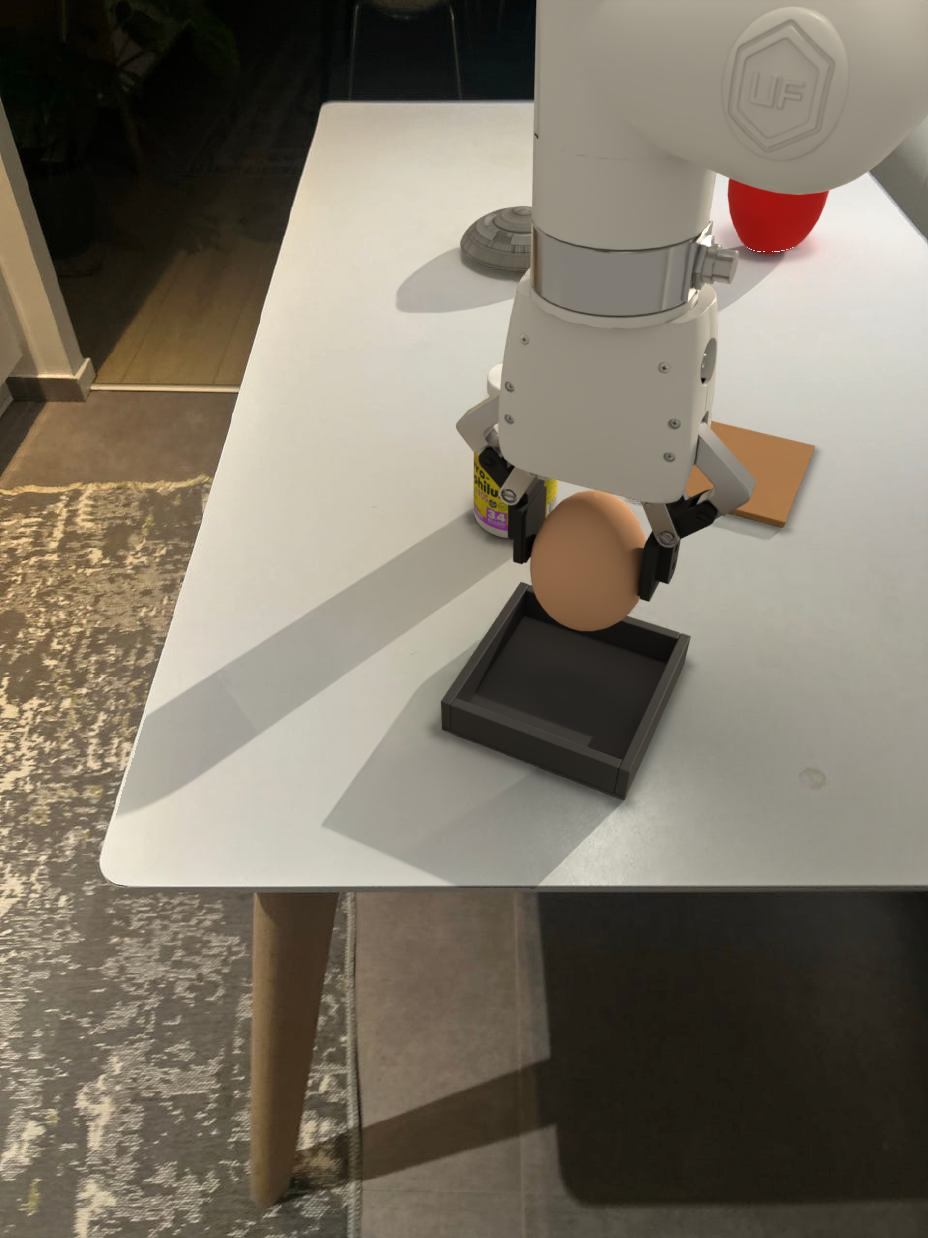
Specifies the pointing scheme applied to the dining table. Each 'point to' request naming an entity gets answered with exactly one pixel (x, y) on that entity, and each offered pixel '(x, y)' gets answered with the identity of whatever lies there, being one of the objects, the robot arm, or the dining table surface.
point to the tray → (566, 692)
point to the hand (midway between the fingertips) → (588, 565)
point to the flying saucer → (501, 239)
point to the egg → (588, 561)
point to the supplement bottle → (486, 491)
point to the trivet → (761, 471)
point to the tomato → (772, 216)
